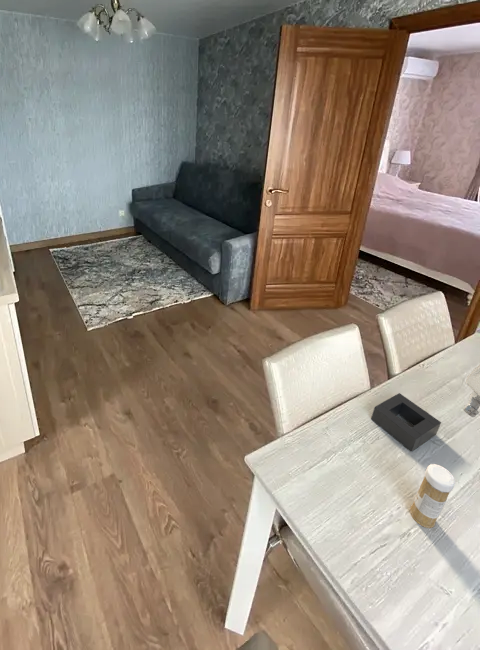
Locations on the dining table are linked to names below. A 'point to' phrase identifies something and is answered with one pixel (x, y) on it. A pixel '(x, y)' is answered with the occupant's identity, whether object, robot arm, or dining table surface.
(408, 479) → the dining table surface
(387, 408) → the socket block
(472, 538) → the dining table surface
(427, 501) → the sprinkles bottle
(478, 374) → the robot arm
